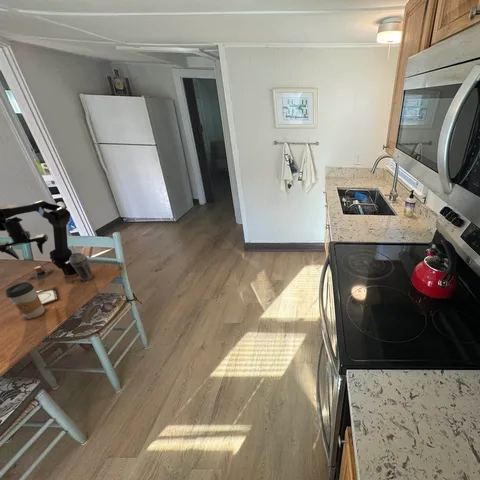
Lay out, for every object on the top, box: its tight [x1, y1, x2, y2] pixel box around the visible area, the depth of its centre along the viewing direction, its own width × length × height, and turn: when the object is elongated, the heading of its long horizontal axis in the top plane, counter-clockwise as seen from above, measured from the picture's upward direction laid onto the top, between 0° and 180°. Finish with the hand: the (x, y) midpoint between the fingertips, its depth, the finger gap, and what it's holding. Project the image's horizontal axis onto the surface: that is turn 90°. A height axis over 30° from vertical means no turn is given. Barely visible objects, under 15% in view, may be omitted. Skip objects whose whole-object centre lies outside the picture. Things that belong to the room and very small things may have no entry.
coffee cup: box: [5, 281, 45, 320], centre depth 117 cm, size 8×8×15 cm
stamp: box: [34, 265, 45, 275], centre depth 147 cm, size 3×3×4 cm
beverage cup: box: [69, 244, 94, 282], centre depth 140 cm, size 7×7×20 cm
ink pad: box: [31, 269, 51, 278], centre depth 148 cm, size 7×7×1 cm
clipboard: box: [36, 288, 59, 306], centre depth 129 cm, size 12×14×1 cm
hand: (30, 256), depth 143 cm, fingers open, 9 cm apart
